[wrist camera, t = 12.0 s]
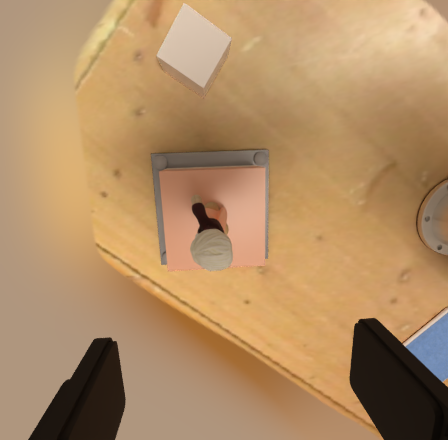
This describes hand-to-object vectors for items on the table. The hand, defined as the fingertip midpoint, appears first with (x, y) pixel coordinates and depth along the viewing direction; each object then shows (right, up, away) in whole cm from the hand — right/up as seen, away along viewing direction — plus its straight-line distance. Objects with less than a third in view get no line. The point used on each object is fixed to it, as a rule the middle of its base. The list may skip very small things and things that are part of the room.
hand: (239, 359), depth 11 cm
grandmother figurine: (-2, +6, +22) cm, 22 cm away
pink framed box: (-2, +7, +29) cm, 30 cm away
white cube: (-4, +26, +25) cm, 36 cm away
